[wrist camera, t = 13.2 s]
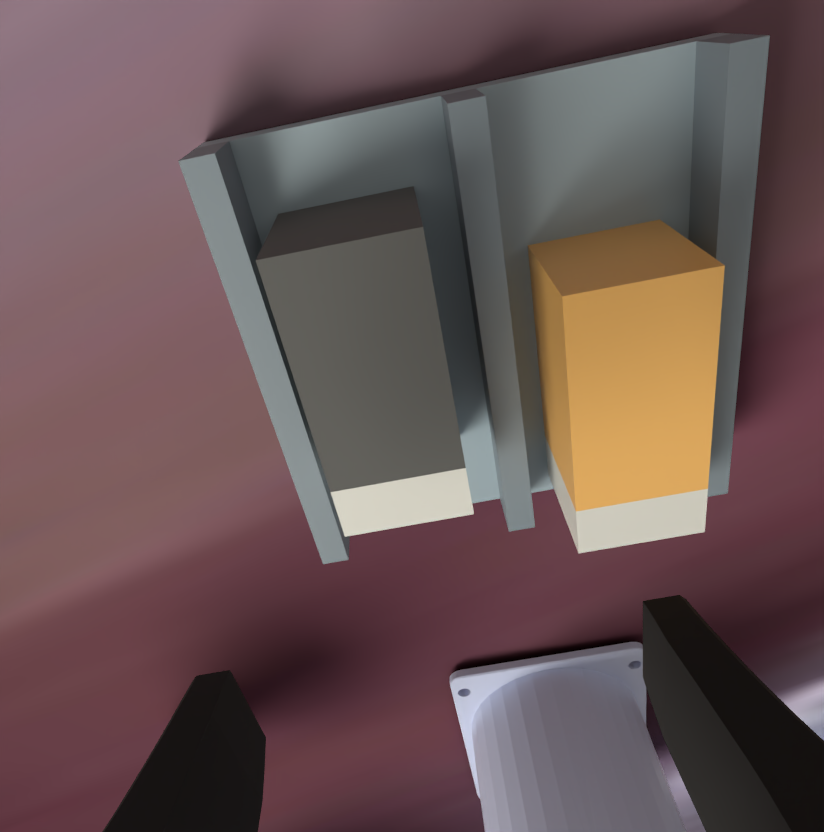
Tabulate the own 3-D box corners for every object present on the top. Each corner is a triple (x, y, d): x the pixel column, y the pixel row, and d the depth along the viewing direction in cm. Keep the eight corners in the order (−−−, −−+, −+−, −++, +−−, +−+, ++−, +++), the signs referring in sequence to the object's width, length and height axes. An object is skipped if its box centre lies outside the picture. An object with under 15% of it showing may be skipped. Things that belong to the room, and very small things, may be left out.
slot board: (694, 447, 21) (727, 493, 19) (327, 513, 22) (323, 563, 20) (716, 32, 15) (770, 35, 13) (203, 142, 16) (178, 160, 14)
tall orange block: (527, 245, 17) (561, 296, 14) (659, 219, 17) (724, 265, 13) (548, 474, 21) (578, 553, 18) (655, 454, 20) (704, 531, 17)
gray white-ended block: (278, 213, 16) (255, 261, 13) (413, 186, 16) (423, 226, 13) (349, 456, 20) (344, 536, 17) (458, 437, 20) (473, 514, 17)
